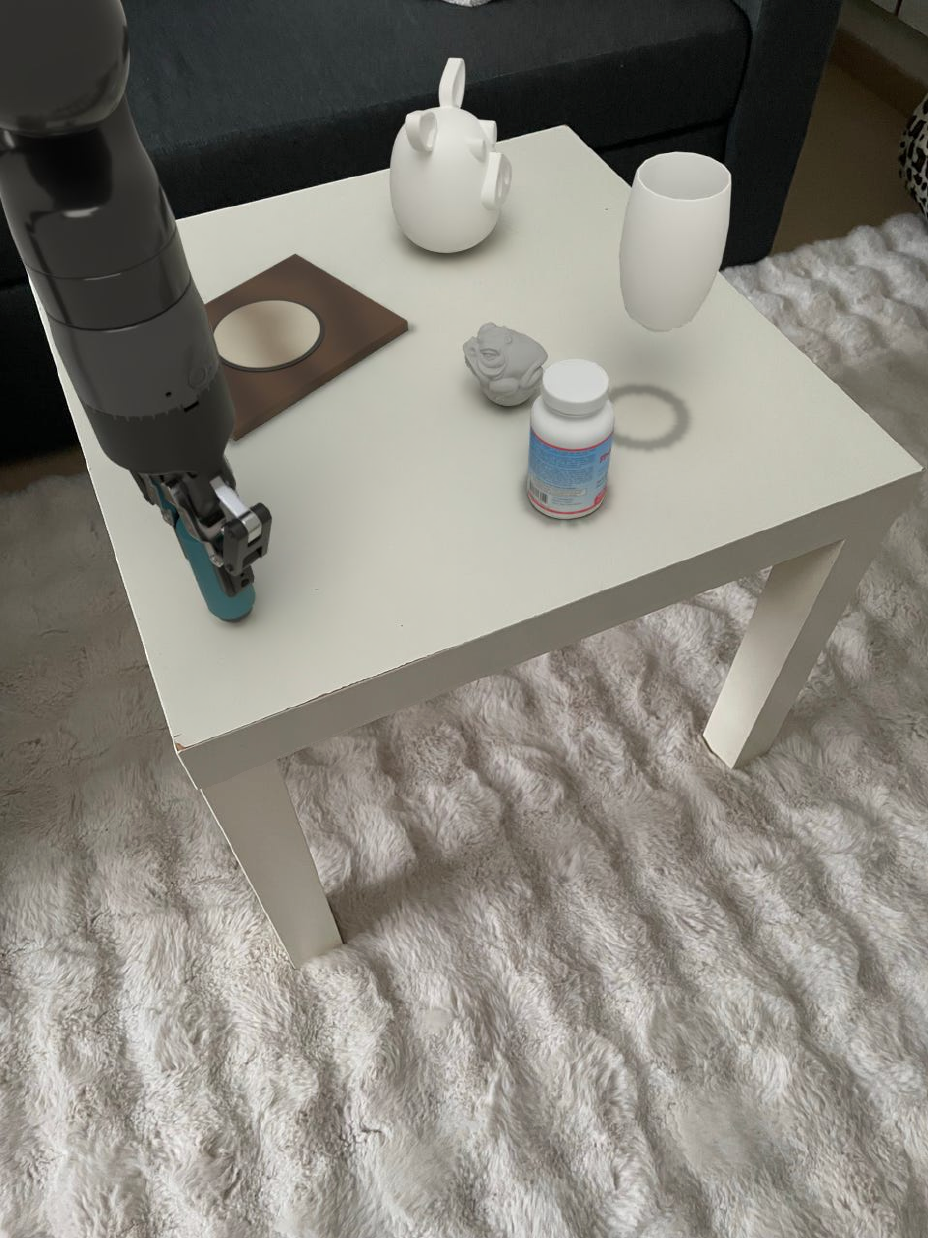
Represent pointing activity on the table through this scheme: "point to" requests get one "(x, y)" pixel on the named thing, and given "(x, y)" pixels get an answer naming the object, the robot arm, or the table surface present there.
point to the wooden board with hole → (292, 336)
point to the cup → (673, 238)
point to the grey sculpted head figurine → (505, 363)
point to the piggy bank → (448, 172)
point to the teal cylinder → (214, 581)
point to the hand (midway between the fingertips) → (221, 571)
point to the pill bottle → (570, 440)
